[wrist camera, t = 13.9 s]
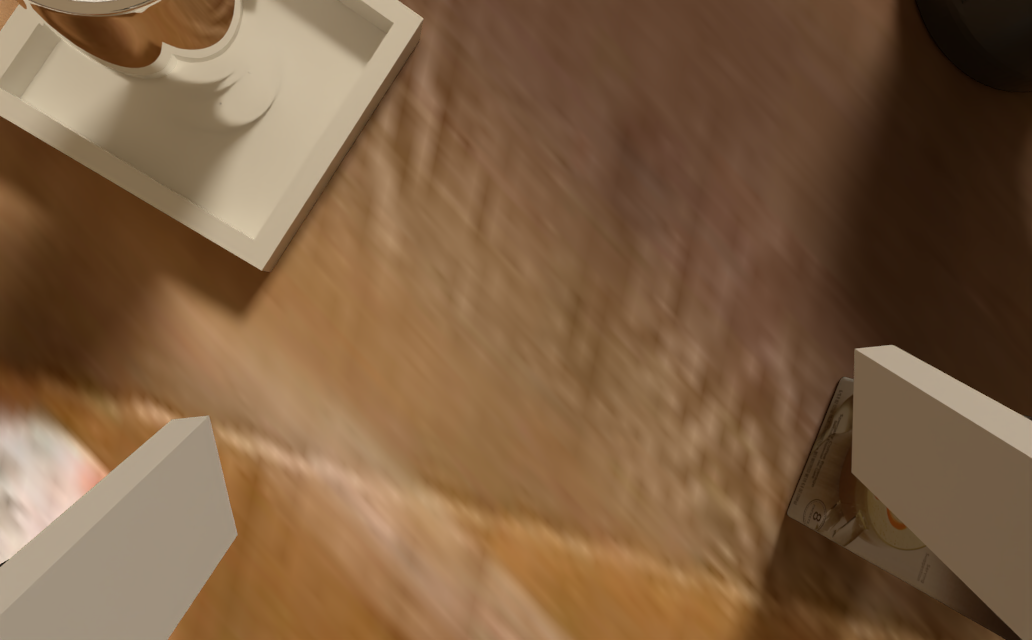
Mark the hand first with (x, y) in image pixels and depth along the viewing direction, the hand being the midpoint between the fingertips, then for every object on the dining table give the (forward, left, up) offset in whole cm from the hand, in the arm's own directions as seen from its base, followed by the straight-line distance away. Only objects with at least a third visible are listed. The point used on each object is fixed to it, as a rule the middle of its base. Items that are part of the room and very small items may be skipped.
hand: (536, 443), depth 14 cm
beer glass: (-6, -16, -22) cm, 28 cm away
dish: (-6, -16, -22) cm, 28 cm away
